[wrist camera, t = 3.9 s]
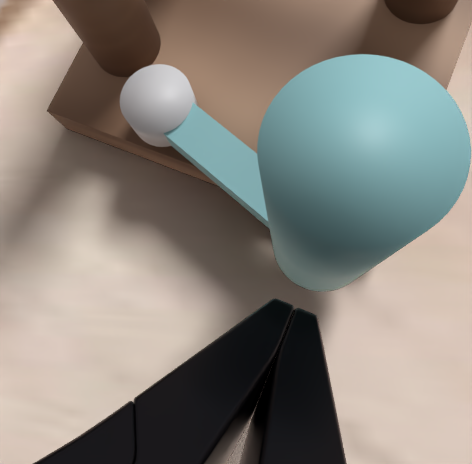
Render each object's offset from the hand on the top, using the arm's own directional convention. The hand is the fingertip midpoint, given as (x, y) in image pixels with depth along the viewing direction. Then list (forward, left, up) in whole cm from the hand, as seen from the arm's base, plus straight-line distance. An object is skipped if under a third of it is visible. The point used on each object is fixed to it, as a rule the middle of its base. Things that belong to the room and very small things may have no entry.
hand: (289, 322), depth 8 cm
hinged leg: (-1, +5, -5) cm, 7 cm away
